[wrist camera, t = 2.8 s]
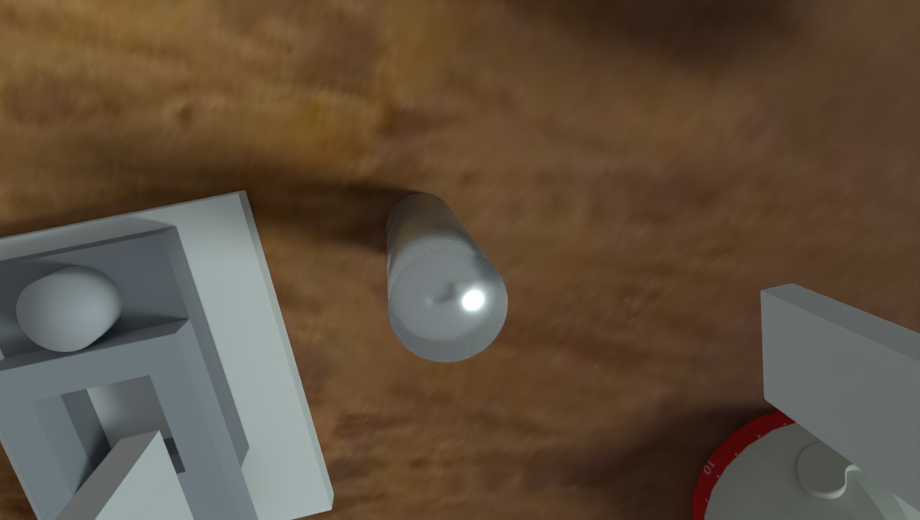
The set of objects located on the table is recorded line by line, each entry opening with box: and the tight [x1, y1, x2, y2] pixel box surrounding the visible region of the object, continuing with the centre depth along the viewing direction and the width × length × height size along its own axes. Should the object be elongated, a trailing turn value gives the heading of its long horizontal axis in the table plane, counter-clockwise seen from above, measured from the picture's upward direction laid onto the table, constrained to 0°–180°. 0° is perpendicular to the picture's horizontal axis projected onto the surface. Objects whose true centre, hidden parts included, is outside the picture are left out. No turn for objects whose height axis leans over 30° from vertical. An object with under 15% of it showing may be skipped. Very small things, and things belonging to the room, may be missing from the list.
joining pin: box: [387, 193, 508, 362], centre depth 25 cm, size 4×4×14 cm
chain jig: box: [0, 190, 334, 520], centre depth 29 cm, size 20×16×6 cm
